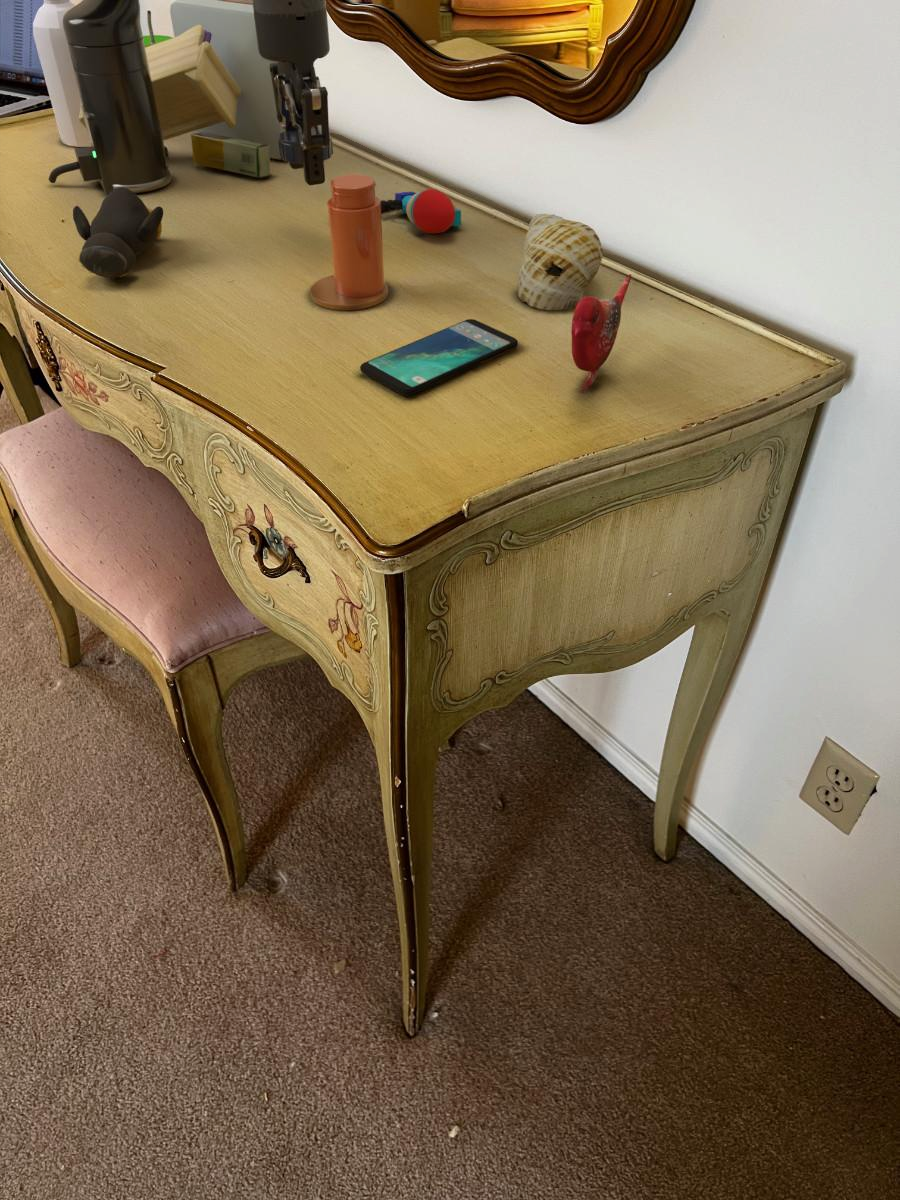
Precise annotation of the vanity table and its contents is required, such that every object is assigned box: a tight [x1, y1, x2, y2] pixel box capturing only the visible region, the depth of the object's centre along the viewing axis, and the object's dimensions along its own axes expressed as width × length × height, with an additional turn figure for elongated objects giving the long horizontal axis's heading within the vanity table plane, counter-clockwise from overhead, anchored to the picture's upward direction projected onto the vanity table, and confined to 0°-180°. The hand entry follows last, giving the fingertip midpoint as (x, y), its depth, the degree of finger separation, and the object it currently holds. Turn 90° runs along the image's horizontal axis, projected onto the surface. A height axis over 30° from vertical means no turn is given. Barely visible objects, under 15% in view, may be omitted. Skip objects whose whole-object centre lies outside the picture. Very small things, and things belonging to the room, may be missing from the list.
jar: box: [327, 173, 386, 298], centre depth 96 cm, size 5×5×11 cm
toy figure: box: [380, 188, 462, 235], centre depth 114 cm, size 8×5×15 cm
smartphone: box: [359, 318, 519, 397], centre depth 89 cm, size 7×1×15 cm
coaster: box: [310, 274, 389, 311], centre depth 100 cm, size 8×8×1 cm
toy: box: [72, 187, 164, 279], centre depth 104 cm, size 10×7×15 cm
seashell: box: [516, 213, 604, 311], centre depth 99 cm, size 10×10×10 cm
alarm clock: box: [169, 0, 315, 160], centre depth 133 cm, size 18×9×21 cm, turn 58°
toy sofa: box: [79, 25, 241, 141], centre depth 129 cm, size 21×9×10 cm
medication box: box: [190, 132, 272, 179], centre depth 129 cm, size 12×3×4 cm, turn 62°
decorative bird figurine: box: [570, 274, 632, 394], centre depth 84 cm, size 3×18×10 cm, turn 156°
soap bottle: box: [32, 0, 91, 148], centre depth 134 cm, size 9×9×24 cm
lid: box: [278, 128, 334, 164], centre depth 104 cm, size 6×6×2 cm
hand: (307, 174), depth 106 cm, fingers closed on lid, 5 cm apart
